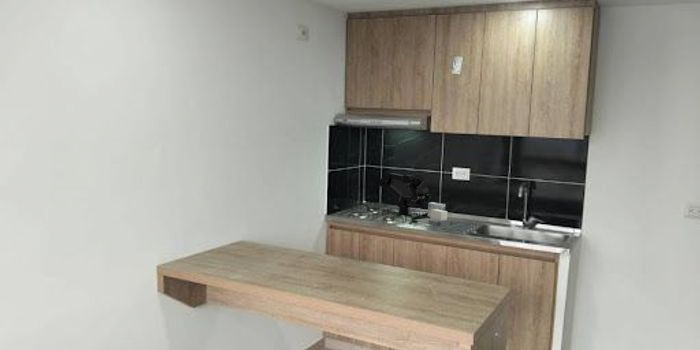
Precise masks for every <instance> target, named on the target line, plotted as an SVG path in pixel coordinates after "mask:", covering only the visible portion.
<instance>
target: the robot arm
mask: <svg viewBox="0 0 700 350" xmlns="http://www.w3.org/2000/svg"><path fill="white" fill-rule="evenodd" d="M393 180H397V181H401V182H402V183H404V184H406V188H405V189H408V190H409V191H410V195H409V194H408V193H406V194H405V193H402V192H401V191H400V190H399V189H398V188H397V187H395V186H394V185H393V184H392V182H393ZM424 182H426V179H425V177H424V176H422V175H421V174H416V175H415V177H414V175H412V174H406V175H404V174H403V175H402V174H398V173H394V172H387V173H386V174H385V175H384V176H382V177H381V178H380V179H379V181H378V185H379V187H381V188H383V189H386V190H388V192H390V193H391V194H392V195H394V197H395V198H397V199H398V203H397V207H398V216H409V215H410V209H409V208H411V207H412V205H413V201H414V204H416V205H417V206H419V207H420V208H422V209H423V210H426V209H427V206H426V202H428V201H429V200H430V199H431V198H432V196H431V194H429V193H428V192H429V189H428V187H424V188H419V187H420V186H422V184H423V183H424Z"/></svg>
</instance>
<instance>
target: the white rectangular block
mask: <svg viewBox="0 0 700 350" xmlns="http://www.w3.org/2000/svg"><path fill="white" fill-rule="evenodd" d="M430 219H431V220H434V221H441V220H448V210H445V211H443V210H439V209H432V210H431V217H430Z"/></svg>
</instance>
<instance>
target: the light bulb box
mask: <svg viewBox="0 0 700 350" xmlns="http://www.w3.org/2000/svg"><path fill="white" fill-rule="evenodd" d="M432 209H439V210H443V211H446V203H440V202H435V201H434V202H433V201H431V202H428V205H427V217H428V218H429V217H430V218H431V210H432Z"/></svg>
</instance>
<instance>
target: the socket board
mask: <svg viewBox="0 0 700 350" xmlns="http://www.w3.org/2000/svg"><path fill="white" fill-rule="evenodd" d="M415 221H417V222H421V223H424V224H427V225H430V226H431V225H432V226H434V227H446V226H452V225H453V219H451V218H450V219H447V220H441V221H434V220H431V218H429V217H427V218H417V219H415Z"/></svg>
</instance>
